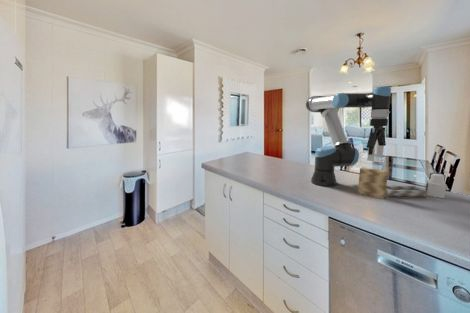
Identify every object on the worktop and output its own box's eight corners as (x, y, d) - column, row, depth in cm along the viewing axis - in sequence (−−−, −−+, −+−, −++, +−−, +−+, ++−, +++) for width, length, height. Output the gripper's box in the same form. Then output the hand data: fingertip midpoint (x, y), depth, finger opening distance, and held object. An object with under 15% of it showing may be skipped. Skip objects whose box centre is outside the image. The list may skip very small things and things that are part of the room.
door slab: (357, 192, 120) (360, 168, 117) (360, 191, 122) (362, 167, 120) (382, 198, 111) (385, 172, 108) (385, 196, 113) (388, 171, 111)
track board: (389, 197, 112) (389, 190, 112) (379, 191, 121) (379, 185, 121) (425, 197, 111) (426, 191, 110) (413, 192, 120) (414, 186, 119)
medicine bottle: (425, 192, 119) (428, 171, 117) (442, 194, 115) (446, 173, 113) (425, 195, 114) (429, 173, 112) (444, 198, 110) (448, 176, 107)
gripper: (379, 118, 99) (374, 163, 102) (395, 117, 114) (390, 157, 118) (361, 118, 104) (357, 161, 108) (378, 118, 120) (375, 155, 124)
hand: (375, 159), depth 113 cm, fingers open, 13 cm apart
